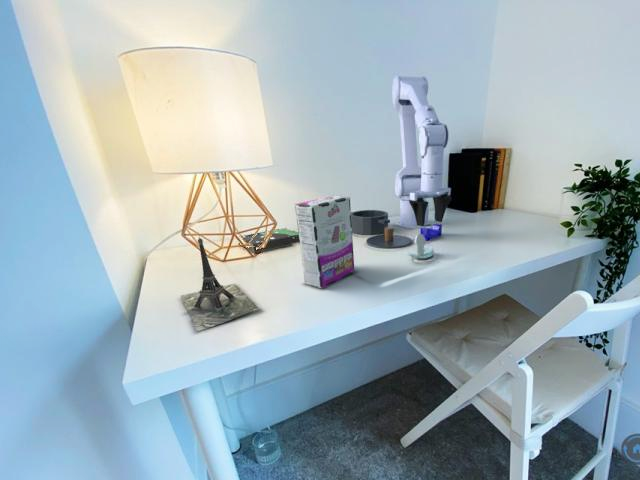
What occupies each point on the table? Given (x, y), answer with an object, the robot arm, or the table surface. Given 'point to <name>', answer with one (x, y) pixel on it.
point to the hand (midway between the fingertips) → (429, 223)
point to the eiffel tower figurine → (215, 299)
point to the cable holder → (432, 231)
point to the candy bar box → (325, 239)
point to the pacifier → (422, 250)
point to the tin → (369, 222)
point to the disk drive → (272, 239)
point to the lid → (388, 240)
